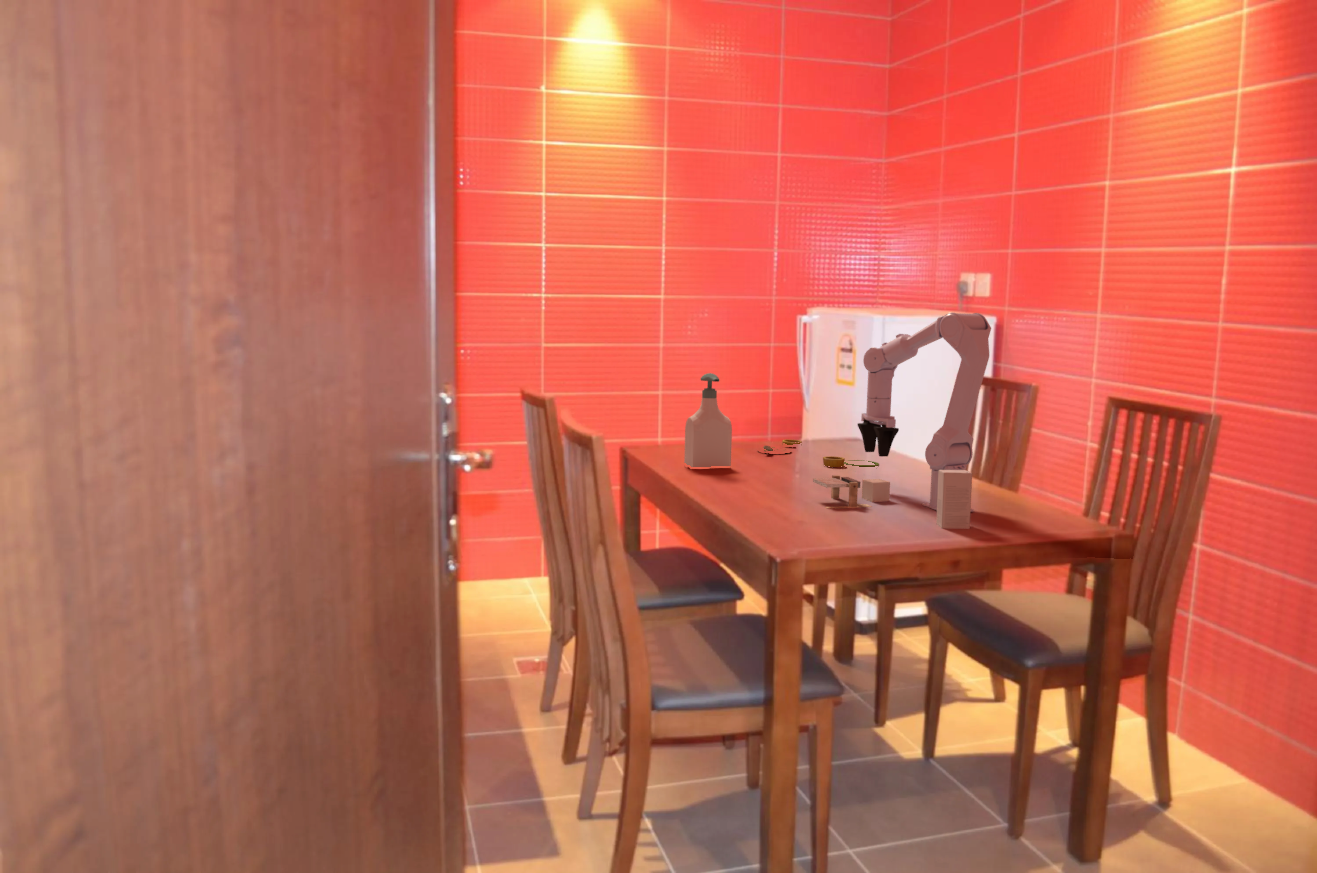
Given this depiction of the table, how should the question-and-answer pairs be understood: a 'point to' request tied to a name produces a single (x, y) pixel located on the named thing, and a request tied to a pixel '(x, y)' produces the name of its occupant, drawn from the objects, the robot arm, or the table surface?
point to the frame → (852, 495)
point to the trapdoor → (835, 482)
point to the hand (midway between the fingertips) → (876, 454)
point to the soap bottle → (708, 431)
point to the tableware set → (827, 460)
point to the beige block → (875, 490)
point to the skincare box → (954, 499)
